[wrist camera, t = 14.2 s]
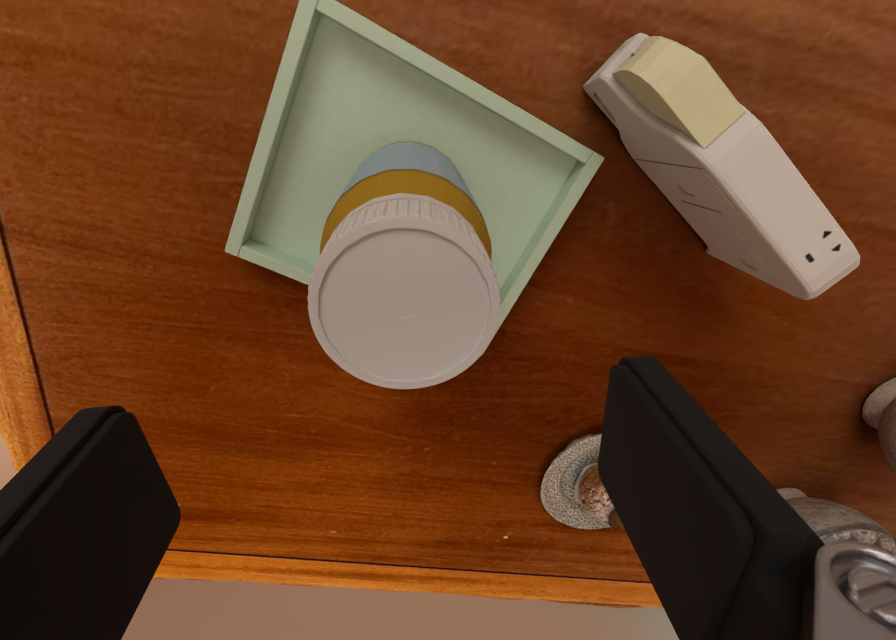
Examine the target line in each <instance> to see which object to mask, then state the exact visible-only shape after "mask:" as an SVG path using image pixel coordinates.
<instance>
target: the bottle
mask: <svg viewBox="0 0 896 640" xmlns="http://www.w3.org/2000/svg"><path fill="white" fill-rule="evenodd" d="M491 256H492V246H491V240H490V237H489V234H488V230H487V227H486V224H485V221H484V218H483V216H482V214H481V212H480V210H479V208H478V206H477V204H476V202H475V200H474V199H473V197H472V195H471V193H470V191H469V189H468V187H467V185H466V183H465V181H464V179H463V177H462V175H461V174H460V172H459V171H458V169H457V168H456V167H455V165H454V164H453V163H452V161H451V160H450V159H449V158H448V157H446V156H445V155H444V154H442V153H441V152H440V151H438V150H437V149H435V148H433V147H431V146H428V145H425V144H422V143H418V142H413V141H411V142H395V143H391V144H389V145H386V146H384V147H381V148H379V149H377V150H375V151H374V152H373V153H372V154H371V155H370V156H368V157H367V158H366V159H365V160H364V161H363V162H362V163H361V164H360V165H359V167H358V169H357V170H356V172H355V173H354V175H353V177H352V178H351V180H350V181H349V183H348V184H347V186H346V188H345V189H344V191H343V192H342V194H341V196H340V197H339V199H338V200H337V202H336V204H335V206H334V207H333V209H332V211H331V212H330V214H329V216H328V218H327V220H326V223H325V226H324V228H323V233H322V239H321V244H320V257H319V259H318V261H317V263H316V265H315V266H314V269H313V273H312V275H311V277H310V284H309V286H308V291H309V294H308V296H307V300H308V310H309V318H310V321H311V325H312V328H313V331H314V333H315V336H316V338H317V340H318V341H319V343H320V345H321V346H322V348H323V349H324V351H325V352H326V353H327V354H328V355H329V357H330V358H331V359H332V360H333V361H334V362H335V363H336V364H338V365H339V366H340V367H341V368H342V369H344V370H345V371H347V372H348V373H350V374H351V375H353V376H355V377H357V378H359V379H361V380H363V381H365V382H368V383H371V384H374V385H378V386H382V387H387V388H394V389H416V388H423V387H428V386H432V385H436V384H439V383H442V382H444V381H447V380H449V379H451V378H453V377H455V376H457V375H458V374H460V373H462V372H463V371H464V370H466V369H467V368H468V367H470V366H471V365H472V364H473V363H474V362H475V361H476V360H477V359H478V358H479V357H480V356H481V355H482V353H483V352H484V351H485V349H486V348H487V346H488V345H489V343H490V341H491V339H492V337H493V335H494V333H495V330H496V327H497V324H498V319H499V313H500V308H501V307H500V301H501V297H500V295H499V293H500V288H499V285H498V278H497V276H496V274H495V270H494V268H493V265H492V263H491Z"/></svg>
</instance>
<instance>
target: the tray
mask: <svg viewBox="0 0 896 640" xmlns="http://www.w3.org/2000/svg"><path fill="white" fill-rule="evenodd" d="M411 141H413V142H418V143H422V144H425V145H428V146H431V147H433V148H435V149H437V150H438V151H440V152H441V153H442V154H444V155H445V156H446V157H448V158H449V159H450V160H451V161H452V163H453V164H454V165H455V167H456V168H457V169H458V171H459V172H460V174H461V175H462V177H463V179H464V181H465V183H466V185H467V187H468V189H469V191H470V193H471V195H472V197H473V199H474V200H475V202H476V204H477V206H478V208H479V210H480V212H481V214H482V216H483V218H484V221H485V224H486V227H487V230H488V234H489V237H490V240H491V246H492V256H491V263H492V265H493V268H494V270H495V274H496V276H497V278H498V285H499V288H500V293H499V295H500V297H501V301H500V307H501V308H500V313H499V319H498V324H497V327H496V330H495V333H494V335H495V334H496V332H497V331H498V329H499V327H500V326H501V324H502V323H503V321H504V319H505V318H506V316H507V315H508V313H509V311H510V310H511V308H512V307H513V305H514V303H515V302H516V300H517V299H518V297H519V295H520V294H521V292H522V290H523V289H524V287H525V286H526V284H527V282H528V281H529V279H530V278H531V276H532V274H533V273H534V271H535V270H536V268H537V266H538V265H539V263H540V262H541V260H542V258H543V257H544V255H545V253H546V252H547V250H548V249H549V247H550V245H551V244H552V242H553V241H554V239H555V237H556V236H557V234H558V233H559V231H560V229H561V228H562V226H563V225H564V223H565V221H566V220H567V218H568V216H569V215H570V213H571V212H572V210H573V208H574V207H575V205H576V204H577V202H578V200H579V199H580V197H581V196H582V194H583V192H584V191H585V189H586V188H587V186H588V184H589V183H590V181H591V180H592V178H593V176H594V175H595V173H596V171H597V170H598V168H599V167H600V165H601V163H602V162H603V160H604V159H605V158H604V157H603V156H601V155H599V154H598V153H596V152H594V151H592V150H591V149H589V148H587V147H585V146H584V145H582V144H580V143H579V142H577V141H575V140H574V139H572V138H570V137H568V136H567V135H565V134H563V133H562V132H560V131H558V130H556V129H555V128H553V127H551V126H550V125H548V124H546V123H544V122H543V121H541V120H539V119H538V118H536V117H534V116H532V115H531V114H529V113H527V112H526V111H524V110H522V109H521V108H519V107H517V106H515V105H514V104H512V103H510V102H509V101H507V100H505V99H503V98H502V97H500V96H498V95H497V94H495V93H493V92H491V91H490V90H488V89H486V88H485V87H483V86H481V85H479V84H478V83H476V82H474V81H473V80H471V79H469V78H468V77H466V76H464V75H462V74H461V73H459V72H457V71H456V70H454V69H452V68H450V67H449V66H447V65H445V64H444V63H442V62H440V61H438V60H437V59H435V58H433V57H432V56H430V55H428V54H427V53H425V52H423V51H421V50H420V49H418V48H416V47H415V46H413V45H411V44H409V43H408V42H406V41H404V40H403V39H401V38H399V37H397V36H396V35H394V34H392V33H391V32H389V31H387V30H385V29H384V28H382V27H380V26H379V25H377V24H375V23H374V22H372V21H370V20H368V19H367V18H365V17H363V16H362V15H360V14H358V13H356V12H355V11H353V10H351V9H350V8H348V7H346V6H344V5H343V4H341V3H339V2H338V1H336V0H299V3H298V6H297V10H296V13H295V16H294V20H293V23H292V26H291V30H290V33H289V36H288V40H287V43H286V46H285V50H284V53H283V56H282V60H281V63H280V67H279V70H278V73H277V77H276V80H275V83H274V87H273V90H272V93H271V97H270V100H269V103H268V107H267V110H266V113H265V117H264V120H263V123H262V127H261V130H260V133H259V137H258V140H257V143H256V147H255V150H254V154H253V157H252V160H251V164H250V167H249V170H248V174H247V177H246V180H245V184H244V187H243V190H242V194H241V197H240V200H239V204H238V207H237V210H236V214H235V217H234V220H233V224H232V227H231V230H230V234H229V237H228V240H227V244H226V247H225V252H227V253H229V254H232V255H234V256H238V257H239V258H242V259H244V260H247V261H249V262H252V263H254V264H257V265H259V266H262V267H264V268H267V269H269V270H272V271H274V272H277V273H279V274H282V275H284V276H287V277H289V278H292V279H294V280H296V281H299V282H301V283H304V284H306V285H309V284H310V277H311V275H312V273H313V269H314V266H315V265H316V263H317V261H318V259H319V257H320V244H321V239H322V233H323V228H324V226H325V223H326V220H327V218H328V216H329V214H330V212H331V211H332V209H333V207H334V206H335V204H336V202H337V200H338V199H339V197H340V196H341V194H342V192H343V191H344V189H345V188H346V186H347V184H348V183H349V181H350V180H351V178H352V177H353V175H354V173H355V172H356V170H357V169H358V167H359V165H360V164H361V163H362V162H363V161H364V160H365V159H366V158H367V157H368V156H370V155H371V154H372V153H373V152H374V151H375V150H377V149H379V148H381V147H384V146H386V145H389V144H391V143H395V142H411ZM494 335H493V337H494ZM493 337H492V339H493ZM492 339H491V340H492ZM490 342H491V341H490ZM489 344H490V343H489ZM487 347H488V346H487ZM485 350H486V349H485ZM484 352H485V351H484ZM484 352H483V353H484ZM483 353H482V355H483Z"/></svg>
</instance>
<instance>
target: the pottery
mask: <svg viewBox="0 0 896 640" xmlns="http://www.w3.org/2000/svg"><path fill="white" fill-rule="evenodd" d="M862 417H863V419H864V421H865V422H866V423H867V424H868V425H870V426H871V427H874V428H876V429H878V438H879V444H880V449H881V451H882V453H883V455H884V456H885V459H886V460H887V462H888V464H889V465H890V466H891V468H892V469H893V470H894V471H895V473H896V377H895V378H893V379H891V380H889V381H887V382H885V383H883V384H882V385H880V386H879V387H878V388H877V389H875V390H874V391H873V392H872V393H871V394H870V395H869V397H868V398H867V399H866V401H865V403H864V405H863V409H862ZM776 490H777V491H778V492H779V494H780V495H781V496H782V497H783V498H784V499H785V500H786V501H787V502H788V503H789V504H790V506H791V507H792V508H793V509H794V510H795V511H796V512H797V513H798V514H799V515H800V517H801V518H802V519H803V520H804V521H805V522H806V523H807V524H808V525H809V526H810V527H811V529H812V530H813V531H814V532H815V533H816V534H817V536H818V537H819V538H820V539H821V540H822V541H823V542H824V543H825V544H826V543H827V542H831V541H836V540H840V539H844V540H856V541H862V542H866V543H869V544H873V545H876V546H879V547H882V548H884V549H886V550H888V551H891V552H893V553H895V552H896V543H895V539H894V538H893V536H892V535H891V534H890V533H888V532H887V531H886V530H885V529H884V528H883V527H882V526H880V525H879V524H878V523H877V522H875V521H874V520H872V519H871V518H869V517H868V516H866V515H864V514H862V513H861V512H858V511H856V510H854V509H852V508H849V507H847V506H845V505H842V504H839V503H836V502H833V501H829V500H824V499H818V498H811V497H807V496H806V495H805V494H804V493H803V492H802V491H800V490H798V489H796V488H779V489H776Z"/></svg>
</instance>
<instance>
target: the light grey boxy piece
mask: <svg viewBox="0 0 896 640" xmlns="http://www.w3.org/2000/svg"><path fill="white" fill-rule="evenodd" d="M583 88H584V90H585V91H586V93H587V94H588V95H589V96H590V97H591V98H592V100H593V101H594V102H595V103H596V104H597V105H598V107H599V108H600V109H601V110H602V111H603V112H604V114H605V115H606V116H607V117H608V118H609V119H610V121H611V122H612V123H613V124H614V125H615V127H616V128H617V129H618V130H619V132H620V138H621V140H622V142H623V144H624V146H625V148H626V149H627V151H628V152H629V154H630V155H631V156H632V158H633V159H634V160H635V162H636V163H637V164H638V165H639V166H640V168H641V169H642V170H643V171H644V172H645V173H646V174H647V176H648V177H649V178H650V179H651V180H652V181H653V183H654V184H655V185H656V186H657V187H658V188H659V189H660V191H661V192H662V193H663V194H664V195H665V196H666V197H667V199H668V200H669V201H670V202H671V203H672V204H673V206H674V207H675V208H676V209H677V210H678V211H679V213H680V214H681V215H682V216H683V217H684V218H685V220H686V221H687V222H688V223H689V224H690V225H691V227H692V228H693V229H694V230H695V231H696V233H697V234H698V235H699V236H700V237H701V238H702V240H703V241H704V242H705V243H706V245H707V246H708V247H707V248H706V252H707V253H708V254H709V255H711V256H713V257H715V258H717V259H719V260H721V261H723V262H726V263H728V264H730V265H732V266H734V267H736V268H738V269H740V270H742V271H744V272H746V273H748V274H750V275H752V276H754V277H756V278H758V279H760V280H762V281H764V282H766V283H769V284H771V285H773V286H775V287H777V288H779V289H781V290H783V291H785V292H787V293H789V294H791V295H793V296H795V297H798V298H801V299H804V300H808V299H812V298H815V297H817V296H819V295H820V294H821V293H823V292H824V291H826V290H827V289H828V288H830V287H831V286H832V285H834V284H835V283H837V282H838V281H839V280H841V279H842V278H843V277H845V276H846V275H847V274H849V273H850V272H852V271H853V270H854V269H856V268H857V267H858V266H859V264H860V255H859V253H858V252H857V250H856V248H855V246H854V245H853V243H852V242H851V241H850V239H849V238H848V237H847V235H846V234H845V233H844V231H843V230H842V229H841V227H840V226H839V225H838V223H837V222H836V221H835V219H834V218H833V217H832V215H831V214H830V213H829V211H828V210H827V209H826V207H825V206H824V205H823V203H822V202H821V201H820V199H819V198H818V197H817V195H816V194H815V193H814V191H813V190H812V189H811V187H810V186H809V185H808V183H807V182H806V181H805V179H804V178H803V177H802V175H801V174H800V173H799V171H798V170H797V169H796V167H795V166H794V165H793V163H792V162H791V160H790V159H789V158H788V156H787V155H786V154H785V152H784V151H783V150H782V148H781V147H780V146H779V144H778V143H777V142H776V140H775V139H774V138H773V136H772V135H771V134H770V133H769V131H768V130H767V129H766V128H765V127H764V125H763V124H762V123H761V122H760V121H759V120H758V119H757V118H756V117H755V116H754V115H753V114H752V113H750V112H749V111H748V110H747V109H746V108H745V107H744V106H743V105H741V104H740V103H739V102H738V101H737V100H736V99H735V97H734V96H733V95H732V93H731V92H730V91H729V89H728V88H727V87H726V86H725V84H724V83H723V82H722V80H721V79H720V78H719V76H718V75H717V74H716V72H715V71H714V70H713V68H712V67H711V66H710V64H709V63H708V62H707V60H706V59H705V58H704V57H703V56H701V55H699V54H697V53H696V52H694V51H692V50H691V49H689V48H687V47H685V46H683V45H681V44H679V43H677V42H675V41H673V40H670V39H667V38H664V37H662V36H651V37H649V36H648V35H646V34H643V33H639V34H636V35H635V36H633V37H631V38H630V39H628V40H626V41H625V42H624V43H623V44H622V45H621V46H620V47H619V48H618V50H617V51H616V52H615V53H614V54H613V55H612V56H611V57H610V58H609V59H608V60H607V61H606V62H605V63H604V64H603V65H602V66H601V67H600V68H599V69H598V70H597V71H596V73H595V74H594V75H593V76H592V77H591V78H590V79H589V80H588V81H587V82H586V83H585V84H584V85H583Z"/></svg>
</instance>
